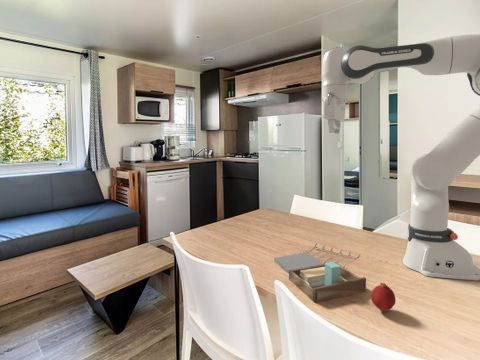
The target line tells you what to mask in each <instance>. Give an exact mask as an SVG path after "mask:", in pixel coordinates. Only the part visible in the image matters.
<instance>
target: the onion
mask: <svg viewBox="0 0 480 360" xmlns="http://www.w3.org/2000/svg"><path fill="white" fill-rule="evenodd" d="M370 299H371V302H372V304H373V305H374V306H375V307H376V308H377V309H378V310H379V311H381V312H386V311H389V310H391V309H393V307H395V305H396V301H397V300H396V294H395V293H394V291H393V290H392V289H391V287H390V286H388V285H387V284H386V283H385V282H380V284H378V285H377V286H375V287H374V288H373V289H372V291H371V293H370Z"/></svg>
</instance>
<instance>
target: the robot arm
mask: <svg viewBox="0 0 480 360" xmlns="http://www.w3.org/2000/svg"><path fill="white" fill-rule="evenodd" d="M396 68H397V69H398V68H409V69H412V70H415V71H417V72H419V73H420V74H421V75H424V76H444V75H451V74H459V73H460V74H462V73H463V74H464V73H466V76H467V78H468V82H469V85H470V88H471V90H472V92H473V93H474V94H476V95H477V96H479V97H480V34H476V33H475V34H462V35H461V34H460V35H453V36H448V37H447V36H446V37H442V38H437V39H433V40H428V41H423V42H419V43H413V44H404V45H403V44H402V45H396V46H386V47H379V48H378V47H371V46H366V45H362V44H360V45H355V46H352V47H350V48H349V49H347V48H345V47H343V46H339V47H334V48H331V49H329V50H328V51H327V52H325V54H324V55H323V59H322V64H321V76H322V86H321V101H322V102H323V118H324V119H325V120H327V125H328V133H330V134H335V135H339V134H340V133H341V130H340V129H341V125H342V123H344V122H345V117H346V103H348V84H352V85H353V84H354V85H362V84H366V83H368V82H369V81H371V80H372V79H373V78H374V76H375V73H376V71H379V70H388V69H396ZM479 156H480V105H479V106H478V107H477V108H476V109H475V110H474V111H472V112H471V113H470V114H469V115H467V117H465V118H464V119H463V120H461V122H459V123H458V124H457V125H456V126H455V127H454V128H453V129H452V130H450V132H448V133H447V134H446V135H445V136H444V138H443V139H442V140H440V141H439V143H437V144H436V145H435V146H434V148H432V149H431V151H429V152H428V153H426V154H425V153H424V154H421V155H420V156H417V158H416V159H414V161H413V162H412V164H411V174H410V175H411V176H410V177H411V179H410V182H411V183H410V185H411V186H410V212H409V213H410V215H409V224H408V227H407V237H406V238H407V246H406V249H405V254H404V257H403V258H402V263H403V265H404V266H405V267H408V268H409V269H411V270H413V271H416V272H419V273H420V274H422V275H423V276H426V277H430V278H443V279H455V280H467V281H480V268H479V267H478V266H477V265H476V264H474V260H473V257H472V255H471V253H470V252H469V251H468V250H467V249H466V248H465V247H463V246H462V245H461V244H459V243H458V242H457V241H456V240H457V239H458V238H459V235H458V234H457V233H456V232H455V231H454V230H452V229H451V228H449V227H448V226H449V225H448V224H449V223H448V222H449V209H450V204H449V186H451V185H452V183H453V182H454V181H455V180H456V179H457V178H458V177H459V176H460V175H461V174H463V172H465V171H466V170H467V169H468V167H469V166H471V164H472V163H473V162H474V161H475V160H477V158H478V157H479Z"/></svg>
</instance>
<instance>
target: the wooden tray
mask: <svg viewBox="0 0 480 360" xmlns="http://www.w3.org/2000/svg"><path fill="white" fill-rule="evenodd" d="M333 262H334V263H336V264H337V265H339V266H340V277H342V278H343V279H344V280H345V281H340V282H339V283H335V284H330V285H325V286H324V285H321V286H316V287H311V286H309V285H308V284H307V283H306V282H305V281H303V280H302V279H301V278H300V277H299V276H300V271H301V270H307V269H314V268H320V267H325V263H323V264H321V265H316V266H311V267H305V268H300V269H294V270H289V274H288V280H289V281H291V283H292V284H294V286H296V287H297V288H298V289H299V290H300V291H301V292H302V293H303V294H304V295H305V296H306V297H308V298H309V299H310V300H311V301H312V302H313V303H320V302H324V301H329V300H332V299H336V298H341V297H346V296H350V295H353V294H358V293H362V292H366V290H367V278H366V277H364V276H363V277H359V276H358V275H356V274H355V273H353V272H351V271H350V270H348V269H347V268H345V267H343V266H342V265H340V264H338V263H337V262H335V261H333Z"/></svg>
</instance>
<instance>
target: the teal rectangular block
mask: <svg viewBox="0 0 480 360" xmlns="http://www.w3.org/2000/svg"><path fill="white" fill-rule="evenodd" d="M334 262H335V261H330V262H325V263H324V264H325V280H324V285H323V286H325V285H330V284H335V283H339V282H341V281H340V277H341V276H340V266H341V265H340V264H339V265H340V266H339V265H337V264H338V263H337V262H335V263H334ZM336 263H337V264H336Z"/></svg>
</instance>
